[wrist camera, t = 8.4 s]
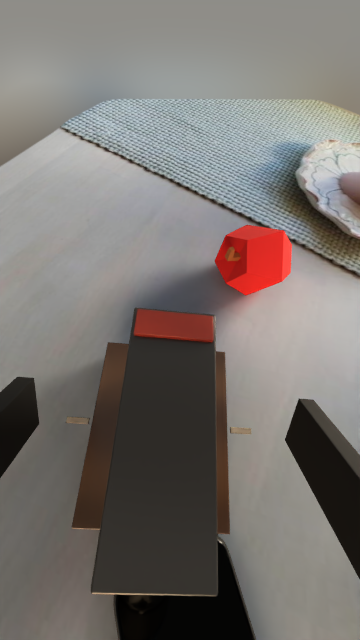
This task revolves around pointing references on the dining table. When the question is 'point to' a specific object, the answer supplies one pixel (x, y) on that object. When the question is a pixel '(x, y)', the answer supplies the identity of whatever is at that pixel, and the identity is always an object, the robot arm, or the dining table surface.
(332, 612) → the dining table surface
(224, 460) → the base
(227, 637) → the smartphone
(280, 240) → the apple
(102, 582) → the dark grey block
